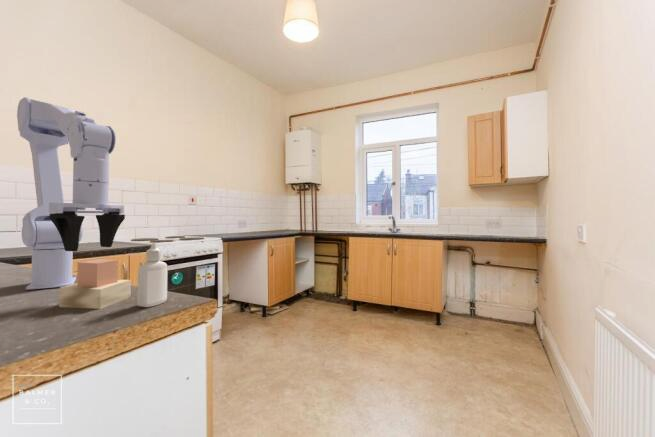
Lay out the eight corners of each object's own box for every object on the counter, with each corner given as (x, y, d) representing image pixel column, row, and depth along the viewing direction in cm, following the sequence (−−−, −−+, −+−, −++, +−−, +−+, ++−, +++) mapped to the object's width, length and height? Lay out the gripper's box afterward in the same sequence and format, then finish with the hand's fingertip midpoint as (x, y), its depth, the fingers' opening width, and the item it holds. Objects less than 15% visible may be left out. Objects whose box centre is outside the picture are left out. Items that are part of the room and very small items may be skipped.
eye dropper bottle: (171, 303, 60) (173, 243, 60) (139, 309, 56) (141, 244, 56) (163, 298, 63) (165, 241, 63) (133, 304, 59) (134, 243, 59)
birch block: (59, 308, 56) (59, 287, 56) (94, 297, 64) (94, 278, 64) (100, 310, 56) (100, 289, 56) (130, 298, 64) (130, 280, 64)
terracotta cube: (77, 285, 58) (77, 262, 58) (98, 280, 63) (98, 258, 63) (97, 287, 57) (97, 263, 57) (117, 281, 62) (117, 260, 62)
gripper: (72, 178, 54) (70, 254, 54) (136, 186, 68) (134, 246, 68) (39, 177, 55) (38, 252, 55) (109, 185, 69) (107, 244, 70)
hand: (89, 248), depth 62 cm, fingers open, 7 cm apart
